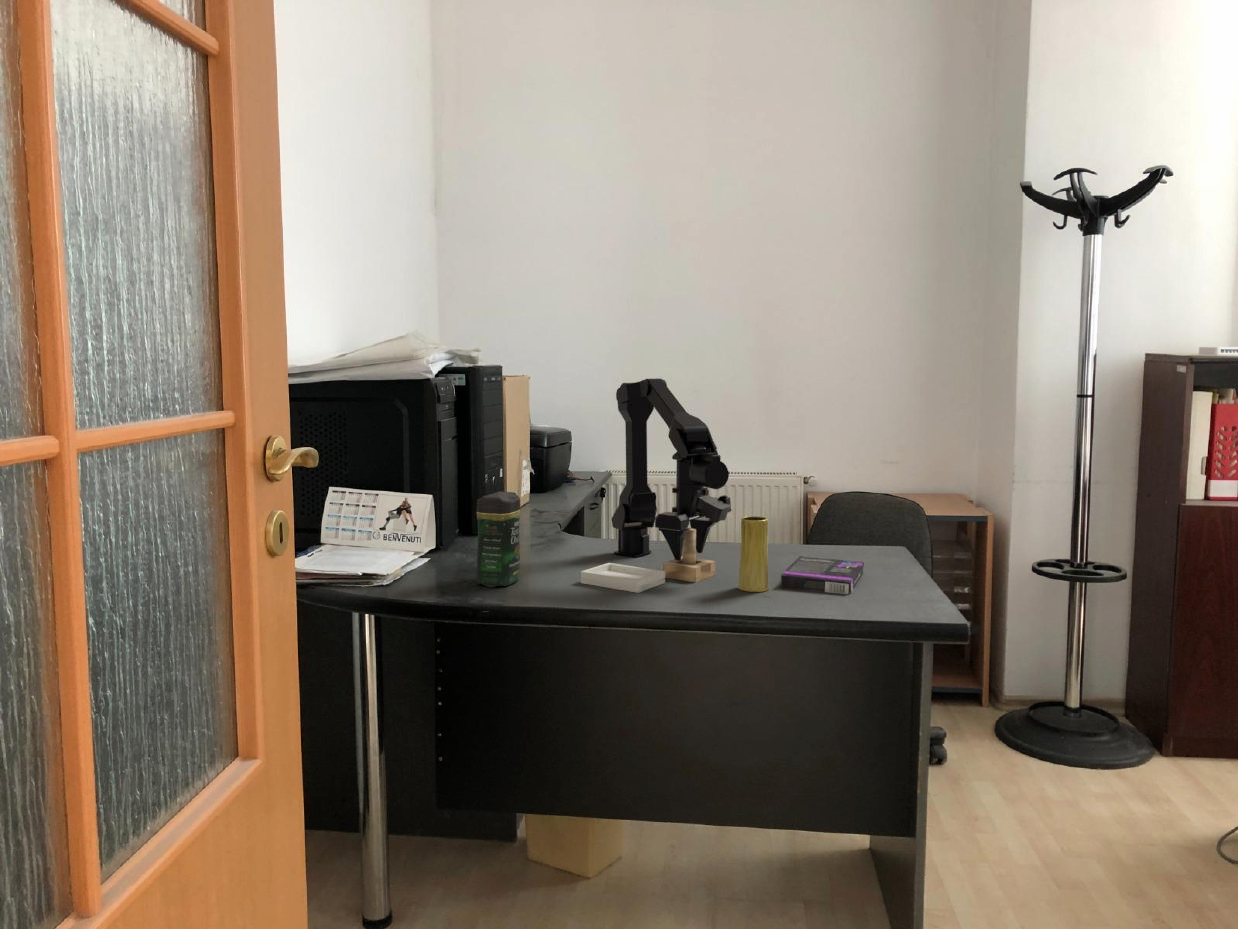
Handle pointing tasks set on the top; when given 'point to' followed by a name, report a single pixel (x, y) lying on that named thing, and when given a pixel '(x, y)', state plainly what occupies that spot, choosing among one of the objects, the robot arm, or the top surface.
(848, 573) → the box
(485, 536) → the coffee jar
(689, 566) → the holder
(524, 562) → the top surface
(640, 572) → the tray
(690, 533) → the dowel
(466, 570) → the top surface
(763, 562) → the vase
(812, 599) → the top surface
